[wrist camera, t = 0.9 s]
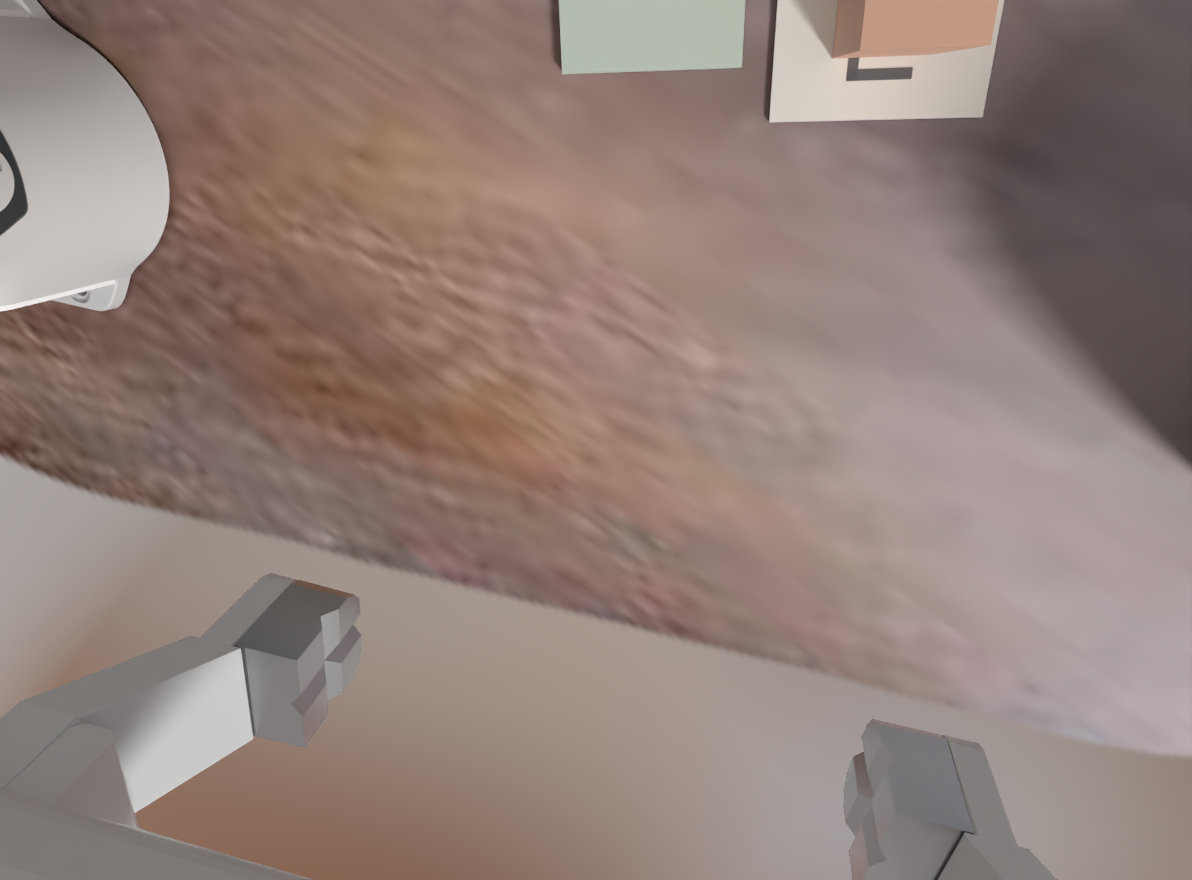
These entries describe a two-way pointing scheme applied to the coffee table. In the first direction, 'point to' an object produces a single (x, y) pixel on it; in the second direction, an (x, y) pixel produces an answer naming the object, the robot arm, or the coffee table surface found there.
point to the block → (911, 27)
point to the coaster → (650, 35)
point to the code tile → (868, 74)
